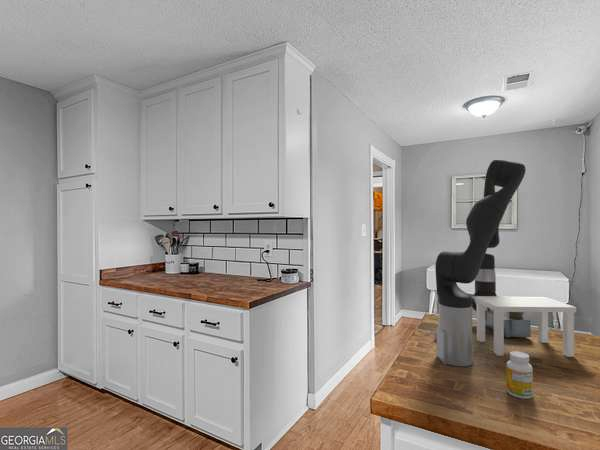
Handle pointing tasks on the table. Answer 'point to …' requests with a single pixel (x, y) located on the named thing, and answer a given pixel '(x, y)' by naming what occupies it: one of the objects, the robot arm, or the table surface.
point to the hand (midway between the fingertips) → (485, 321)
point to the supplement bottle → (519, 375)
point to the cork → (516, 316)
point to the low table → (525, 305)
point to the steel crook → (510, 325)
